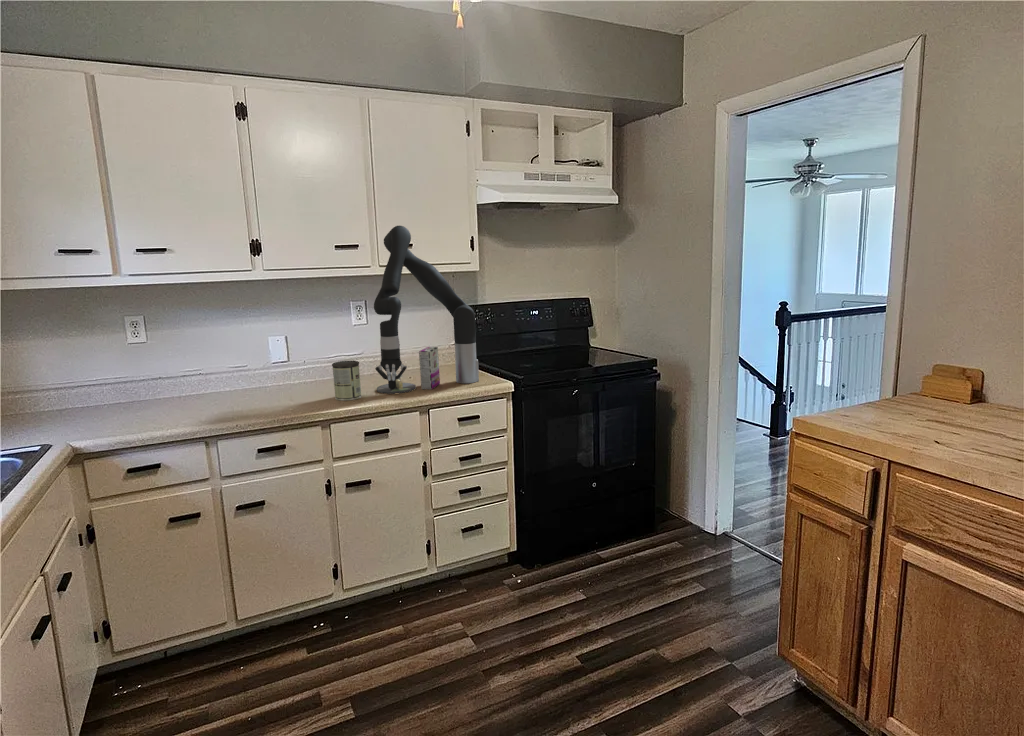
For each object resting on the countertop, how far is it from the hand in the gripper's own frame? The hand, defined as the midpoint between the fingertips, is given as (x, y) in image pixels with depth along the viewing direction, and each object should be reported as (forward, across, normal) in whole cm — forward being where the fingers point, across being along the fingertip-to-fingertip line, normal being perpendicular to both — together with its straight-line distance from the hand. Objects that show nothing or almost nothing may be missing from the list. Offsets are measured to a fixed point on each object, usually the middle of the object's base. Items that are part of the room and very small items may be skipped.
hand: (392, 389), depth 239 cm
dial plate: (+2, 0, +8) cm, 8 cm away
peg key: (+1, +2, +4) cm, 4 cm away
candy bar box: (+2, +14, +11) cm, 18 cm away
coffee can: (+2, -17, -4) cm, 18 cm away
